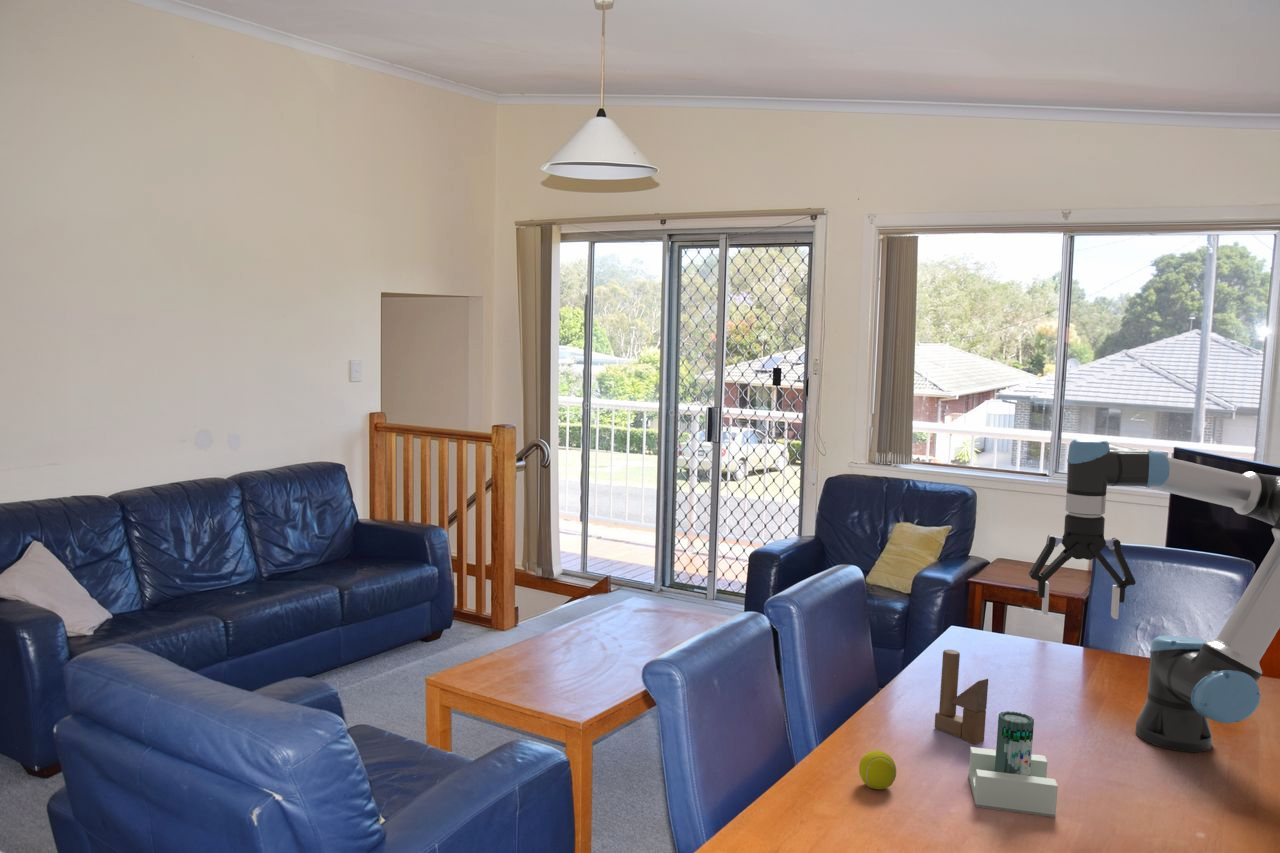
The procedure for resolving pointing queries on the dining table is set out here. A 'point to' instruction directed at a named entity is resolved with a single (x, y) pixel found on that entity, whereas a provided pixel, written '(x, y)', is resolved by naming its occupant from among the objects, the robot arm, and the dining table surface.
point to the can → (1014, 743)
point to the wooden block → (961, 703)
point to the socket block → (1011, 785)
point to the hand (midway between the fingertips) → (1079, 615)
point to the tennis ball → (877, 770)
